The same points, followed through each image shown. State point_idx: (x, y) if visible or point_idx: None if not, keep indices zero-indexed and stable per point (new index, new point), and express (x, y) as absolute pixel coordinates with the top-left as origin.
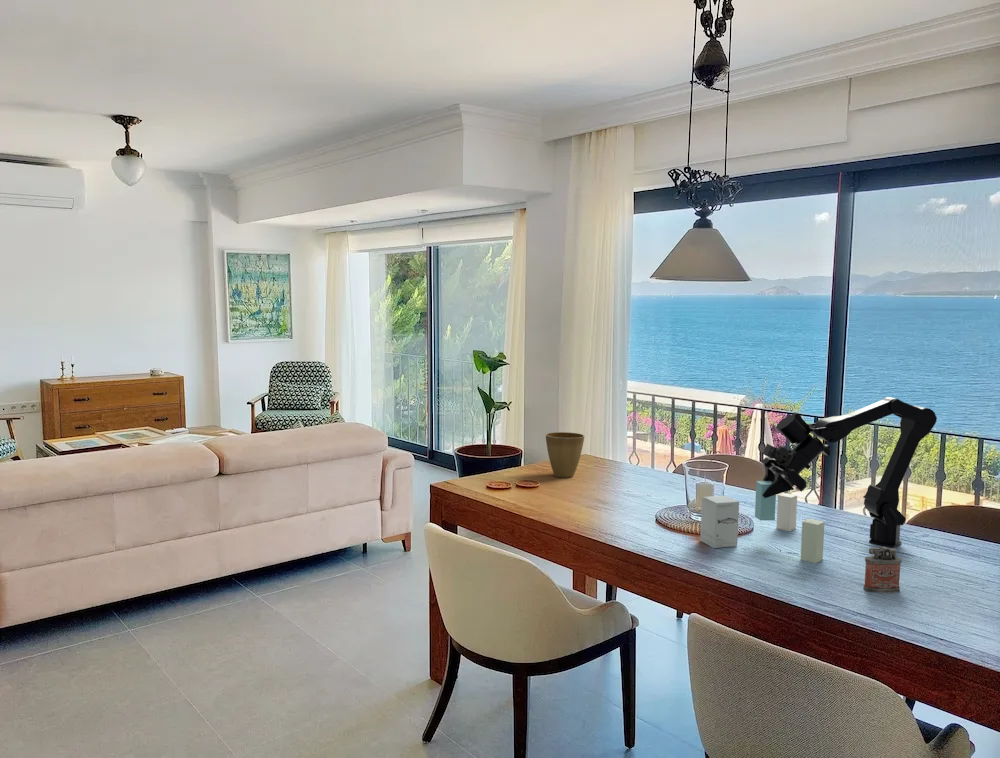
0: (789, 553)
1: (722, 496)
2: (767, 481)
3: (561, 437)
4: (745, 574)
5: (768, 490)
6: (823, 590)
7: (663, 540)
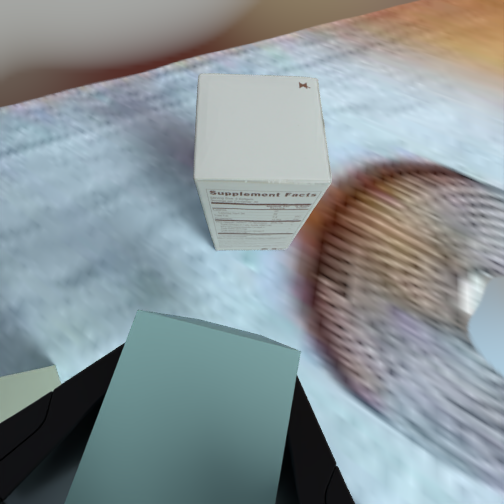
0: None
1: (307, 155)
2: (246, 493)
3: None
4: (37, 158)
5: (105, 360)
6: None
7: None
